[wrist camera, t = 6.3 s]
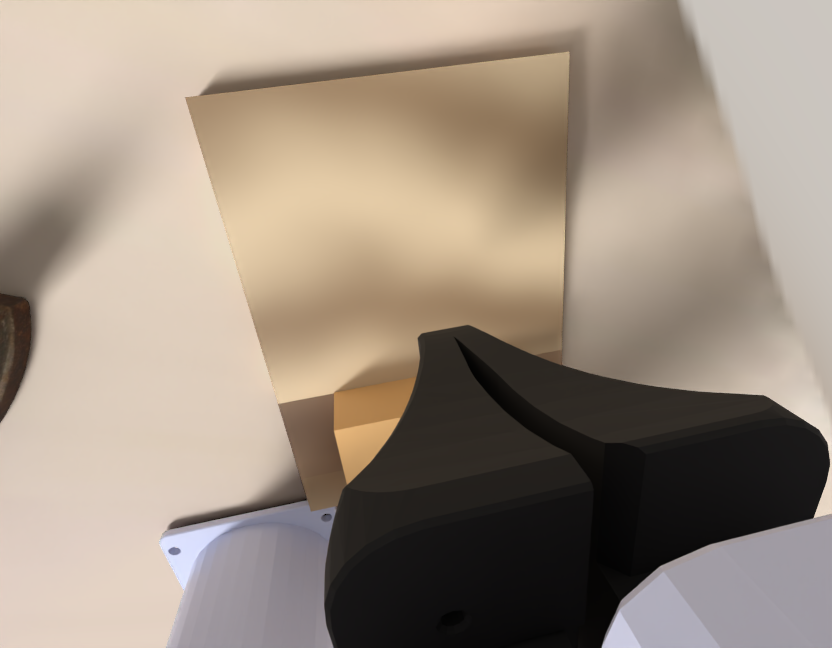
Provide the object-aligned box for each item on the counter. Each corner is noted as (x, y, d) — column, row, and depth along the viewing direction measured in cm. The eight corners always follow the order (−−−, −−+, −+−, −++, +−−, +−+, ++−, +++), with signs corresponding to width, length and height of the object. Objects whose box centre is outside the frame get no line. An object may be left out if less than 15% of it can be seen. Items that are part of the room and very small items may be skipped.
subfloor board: (549, 444, 22) (559, 457, 21) (311, 495, 21) (310, 511, 20) (555, 55, 15) (569, 51, 14) (194, 99, 14) (185, 97, 13)
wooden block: (524, 464, 21) (546, 504, 19) (359, 500, 20) (362, 546, 18) (522, 356, 19) (548, 387, 16) (334, 392, 18) (333, 430, 16)
